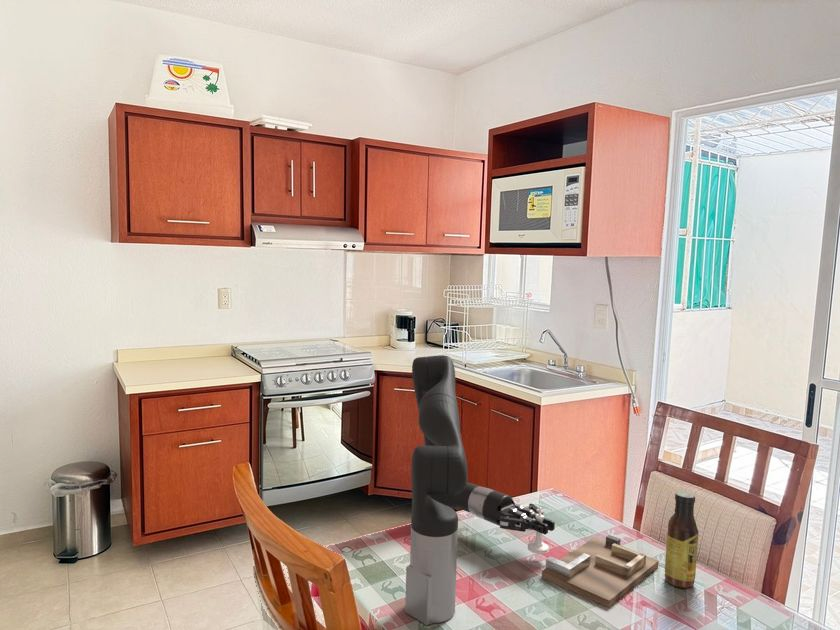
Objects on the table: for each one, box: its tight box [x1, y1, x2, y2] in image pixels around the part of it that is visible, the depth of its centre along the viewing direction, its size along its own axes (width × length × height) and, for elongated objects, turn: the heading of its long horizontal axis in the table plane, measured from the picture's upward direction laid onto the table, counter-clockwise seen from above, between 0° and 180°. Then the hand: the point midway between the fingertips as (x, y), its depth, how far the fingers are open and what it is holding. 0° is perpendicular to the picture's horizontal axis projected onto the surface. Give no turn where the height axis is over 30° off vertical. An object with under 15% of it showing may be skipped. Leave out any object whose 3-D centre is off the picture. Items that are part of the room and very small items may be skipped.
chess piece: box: [527, 506, 550, 555], centre depth 140 cm, size 5×5×10 cm
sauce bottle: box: [664, 490, 699, 589], centre depth 132 cm, size 7×6×20 cm
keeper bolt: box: [545, 553, 591, 578], centre depth 135 cm, size 9×6×2 cm, turn 135°
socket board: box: [541, 534, 659, 608], centre depth 136 cm, size 24×16×4 cm, turn 135°
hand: (550, 528), depth 137 cm, fingers closed on chess piece
